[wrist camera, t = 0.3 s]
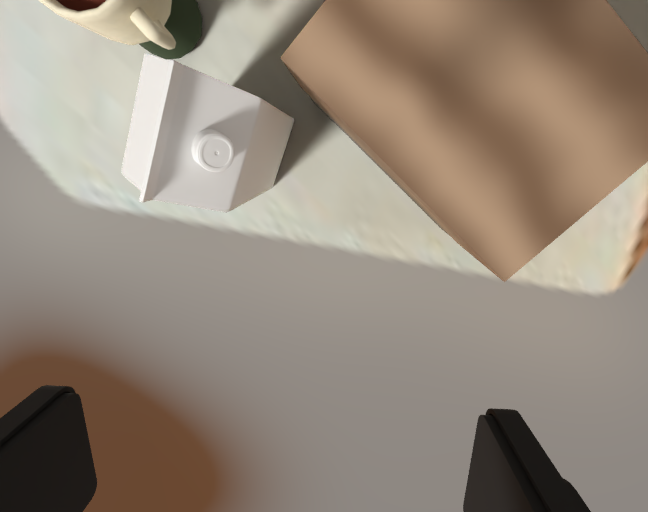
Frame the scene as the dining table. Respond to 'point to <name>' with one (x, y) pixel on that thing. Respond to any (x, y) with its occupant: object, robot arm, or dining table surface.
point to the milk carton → (201, 139)
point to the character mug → (138, 22)
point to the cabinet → (484, 109)
